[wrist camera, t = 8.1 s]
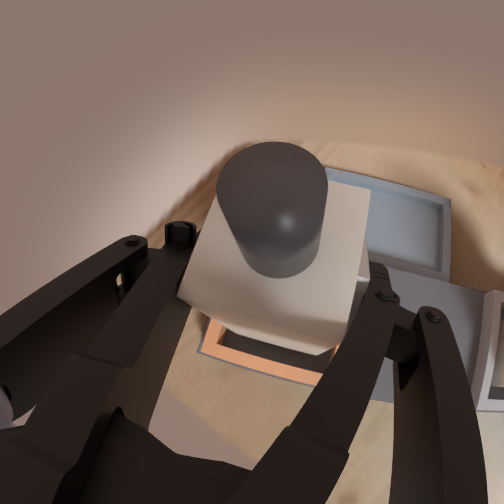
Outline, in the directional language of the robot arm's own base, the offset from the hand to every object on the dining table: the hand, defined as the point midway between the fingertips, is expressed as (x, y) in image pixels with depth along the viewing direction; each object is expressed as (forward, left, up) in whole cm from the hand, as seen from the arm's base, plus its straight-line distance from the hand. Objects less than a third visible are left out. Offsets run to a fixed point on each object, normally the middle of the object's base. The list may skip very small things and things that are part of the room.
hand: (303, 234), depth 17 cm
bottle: (0, +4, -3) cm, 5 cm away
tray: (-6, -5, -7) cm, 11 cm away
